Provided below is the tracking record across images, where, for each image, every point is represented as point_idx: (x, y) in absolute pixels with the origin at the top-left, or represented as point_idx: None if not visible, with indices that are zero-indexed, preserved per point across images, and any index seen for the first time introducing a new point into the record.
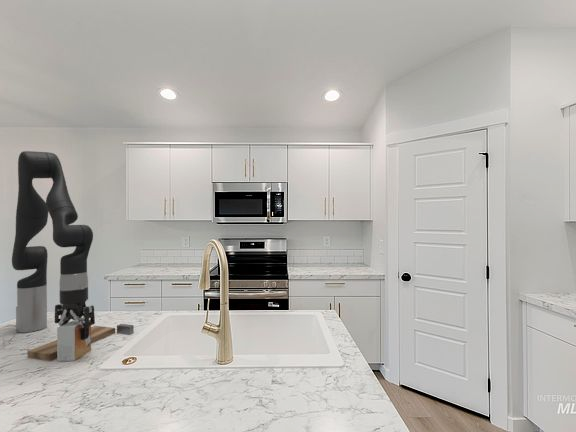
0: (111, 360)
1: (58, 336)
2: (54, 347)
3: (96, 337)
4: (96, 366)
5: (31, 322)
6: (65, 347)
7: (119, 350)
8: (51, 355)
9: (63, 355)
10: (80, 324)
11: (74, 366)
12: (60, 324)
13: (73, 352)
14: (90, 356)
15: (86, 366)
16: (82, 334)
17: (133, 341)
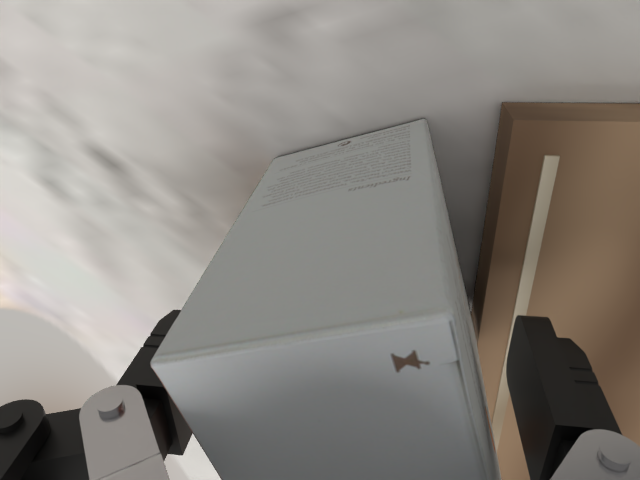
0: (34, 229)
1: (414, 227)
2: (632, 258)
3: None
4: (25, 131)
5: None
6: (333, 184)
7: None
8: (509, 130)
9: (360, 147)
10: (128, 432)
11: (178, 84)
12: (594, 449)
13: (265, 184)
14: None
15: (91, 111)
16: None
17: (196, 458)
